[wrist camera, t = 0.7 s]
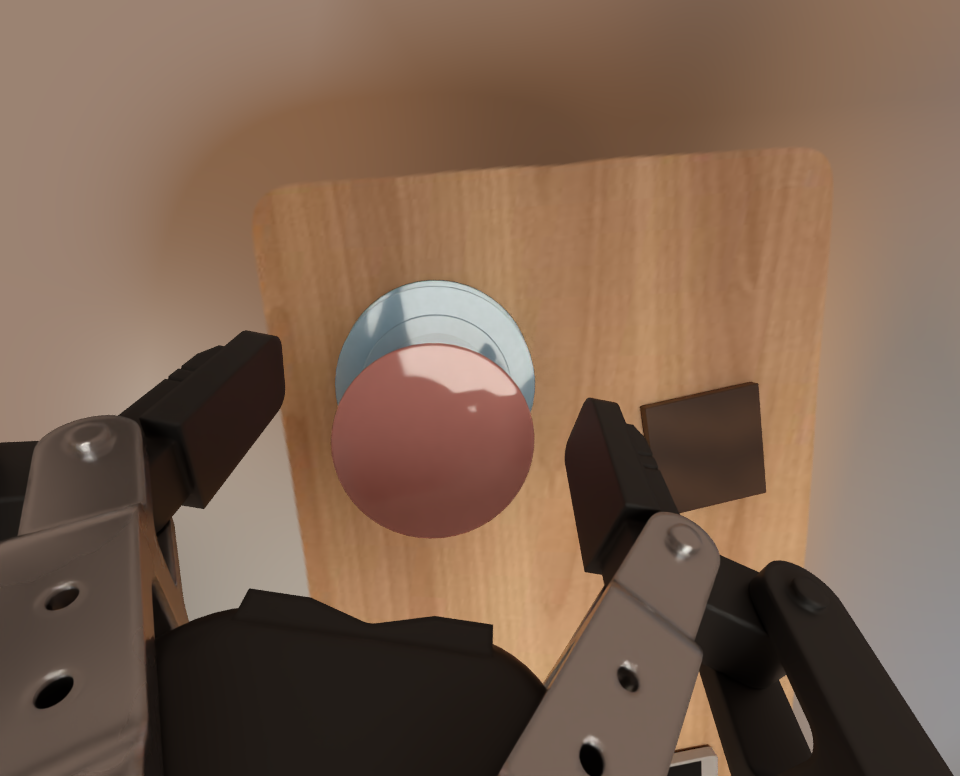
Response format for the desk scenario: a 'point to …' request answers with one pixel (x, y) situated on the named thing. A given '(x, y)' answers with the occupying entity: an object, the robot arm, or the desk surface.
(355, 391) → the terracotta cylinder
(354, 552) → the desk surface
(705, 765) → the smartphone
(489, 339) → the blue stepped cylinder
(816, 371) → the desk surface
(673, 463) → the coaster
